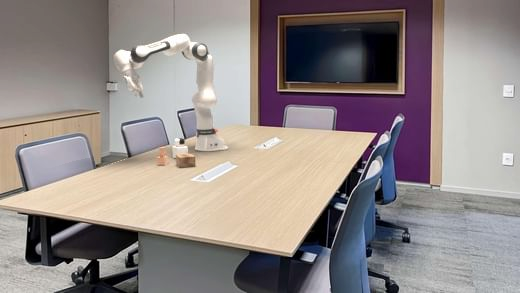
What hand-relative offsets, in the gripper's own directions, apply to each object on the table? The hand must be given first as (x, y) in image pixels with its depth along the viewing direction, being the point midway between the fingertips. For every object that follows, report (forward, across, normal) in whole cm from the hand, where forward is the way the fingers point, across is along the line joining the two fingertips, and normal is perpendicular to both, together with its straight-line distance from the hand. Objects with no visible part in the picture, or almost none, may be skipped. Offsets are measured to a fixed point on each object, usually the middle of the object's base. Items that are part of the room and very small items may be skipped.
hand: (140, 97), depth 272 cm
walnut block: (+49, -11, -8) cm, 51 cm away
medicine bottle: (+43, +12, -2) cm, 44 cm away
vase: (+42, -8, +4) cm, 43 cm away
